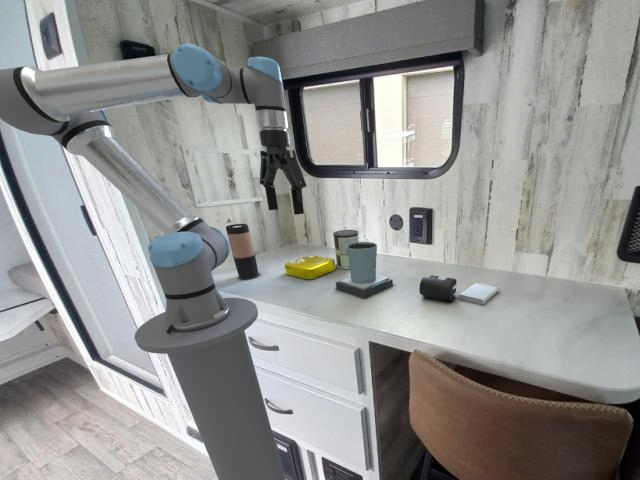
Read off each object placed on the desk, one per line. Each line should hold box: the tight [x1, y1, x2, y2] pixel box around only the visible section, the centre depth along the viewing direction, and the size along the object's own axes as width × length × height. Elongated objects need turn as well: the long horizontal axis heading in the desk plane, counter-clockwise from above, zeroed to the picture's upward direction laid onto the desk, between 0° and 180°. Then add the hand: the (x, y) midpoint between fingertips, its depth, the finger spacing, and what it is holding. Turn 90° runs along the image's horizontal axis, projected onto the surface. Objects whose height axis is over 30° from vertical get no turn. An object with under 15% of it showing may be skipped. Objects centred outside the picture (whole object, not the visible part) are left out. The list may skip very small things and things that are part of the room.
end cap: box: [418, 274, 458, 303], centre depth 96 cm, size 10×7×7 cm
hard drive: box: [458, 282, 499, 305], centre depth 98 cm, size 2×8×12 cm
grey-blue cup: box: [346, 241, 378, 284], centre depth 104 cm, size 10×10×12 cm
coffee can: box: [332, 229, 360, 270], centre depth 129 cm, size 10×10×14 cm
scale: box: [335, 273, 394, 300], centre depth 107 cm, size 14×14×3 cm
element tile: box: [284, 254, 336, 281], centre depth 124 cm, size 15×15×5 cm
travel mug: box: [225, 223, 260, 281], centre depth 117 cm, size 8×8×20 cm
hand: (285, 211), depth 91 cm, fingers open, 13 cm apart
